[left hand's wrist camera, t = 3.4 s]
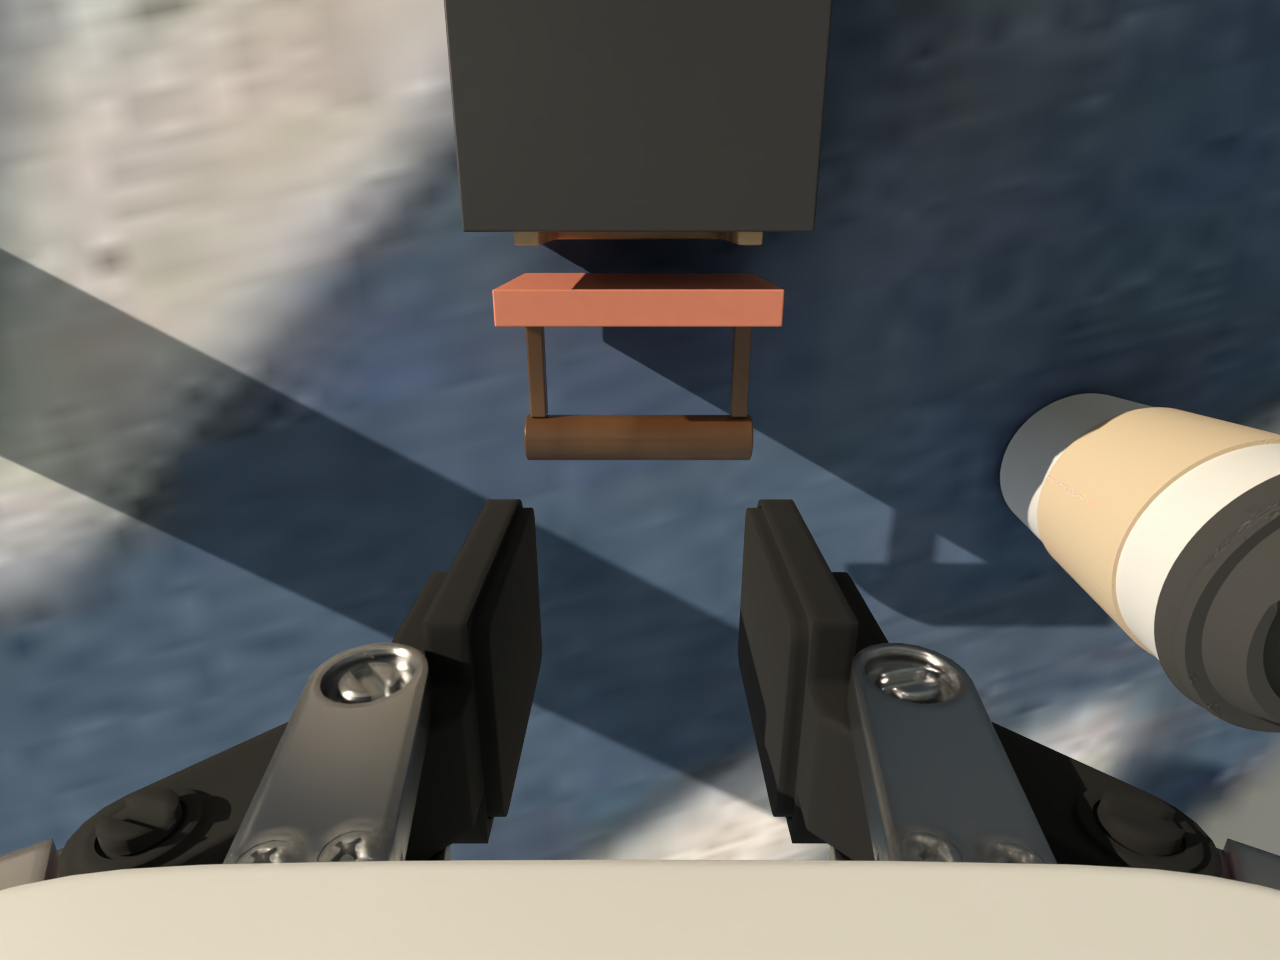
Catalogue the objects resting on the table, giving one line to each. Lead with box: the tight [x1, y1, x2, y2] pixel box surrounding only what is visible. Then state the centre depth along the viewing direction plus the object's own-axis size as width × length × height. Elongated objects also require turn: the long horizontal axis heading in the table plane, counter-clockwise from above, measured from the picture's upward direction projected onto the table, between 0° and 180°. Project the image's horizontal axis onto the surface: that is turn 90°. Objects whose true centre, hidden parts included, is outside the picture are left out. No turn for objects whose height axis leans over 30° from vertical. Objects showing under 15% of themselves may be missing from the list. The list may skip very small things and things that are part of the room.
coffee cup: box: [1000, 393, 1280, 732], centre depth 27 cm, size 9×9×15 cm
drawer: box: [493, 232, 784, 460], centre depth 25 cm, size 25×10×7 cm, turn 0°
